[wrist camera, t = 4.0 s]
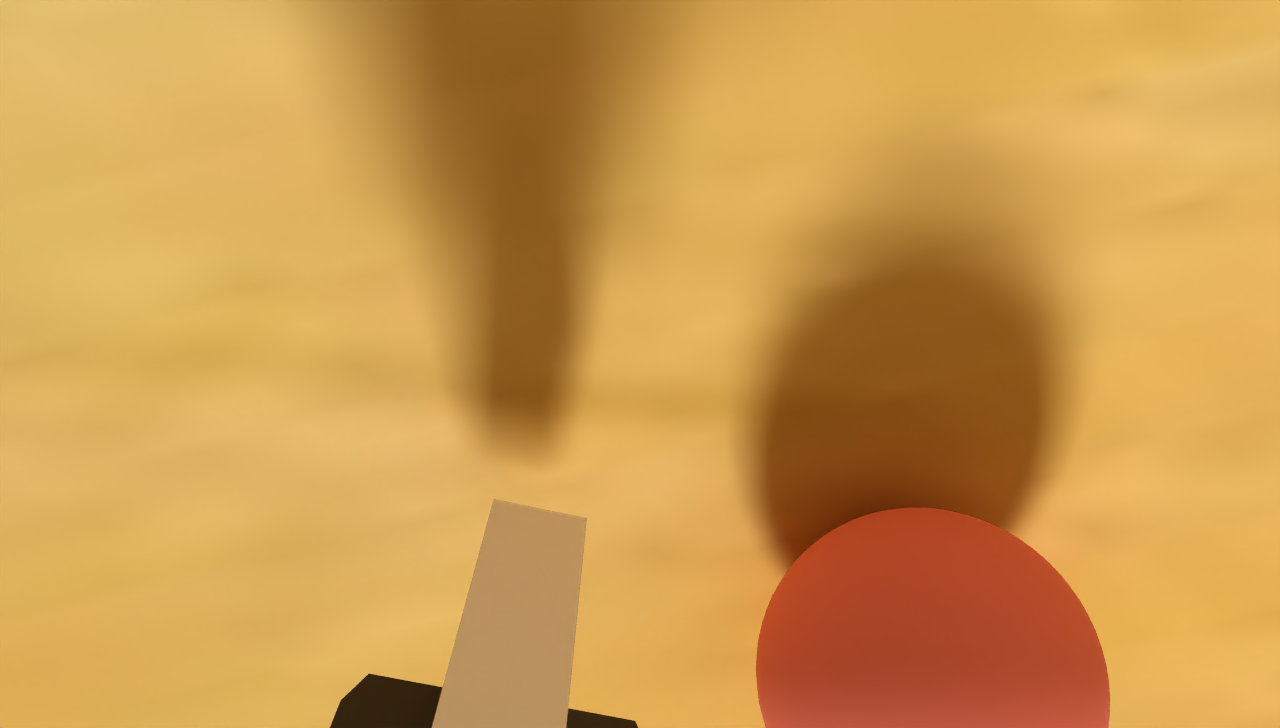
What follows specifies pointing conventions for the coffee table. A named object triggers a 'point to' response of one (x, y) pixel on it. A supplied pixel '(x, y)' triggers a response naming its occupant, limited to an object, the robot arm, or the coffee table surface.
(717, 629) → the coffee table surface
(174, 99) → the coffee table surface
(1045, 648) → the ball
